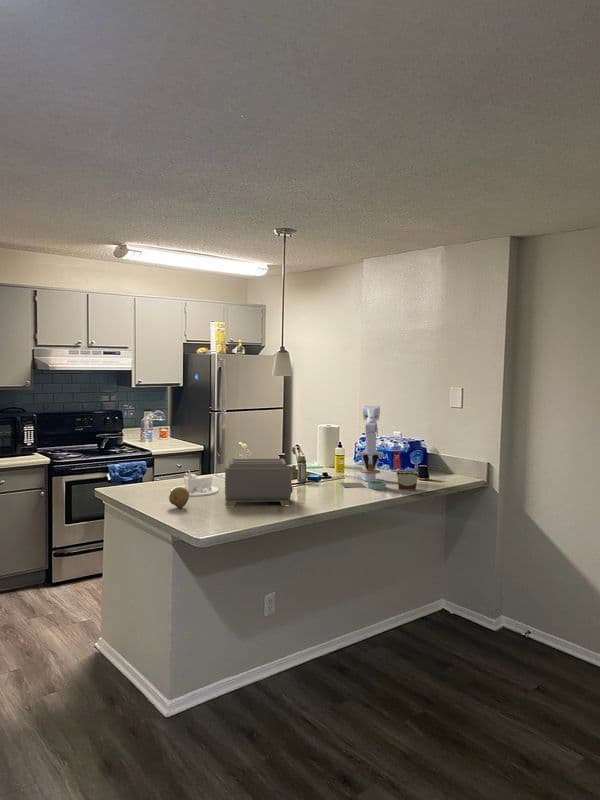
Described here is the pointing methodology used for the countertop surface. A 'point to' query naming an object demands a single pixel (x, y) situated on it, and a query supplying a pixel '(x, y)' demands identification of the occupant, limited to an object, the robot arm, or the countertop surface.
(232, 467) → the toaster
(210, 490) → the dish
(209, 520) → the countertop surface
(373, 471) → the lid
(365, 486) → the mat
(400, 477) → the food container
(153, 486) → the countertop surface
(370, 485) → the bowl
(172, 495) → the natural sponge
